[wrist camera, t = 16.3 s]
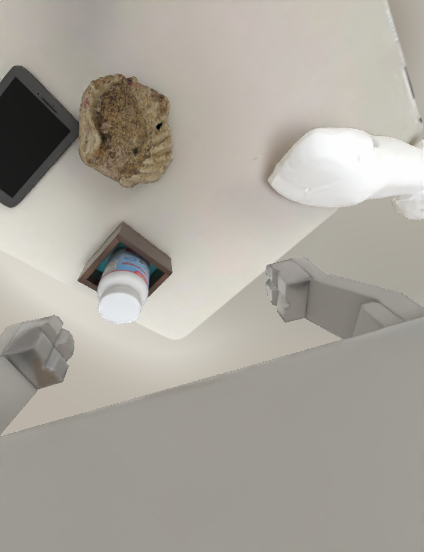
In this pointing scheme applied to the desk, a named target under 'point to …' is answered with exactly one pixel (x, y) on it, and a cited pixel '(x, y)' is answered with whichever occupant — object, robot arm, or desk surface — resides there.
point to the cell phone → (29, 134)
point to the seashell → (125, 130)
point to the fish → (352, 170)
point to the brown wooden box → (138, 244)
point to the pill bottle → (123, 286)
